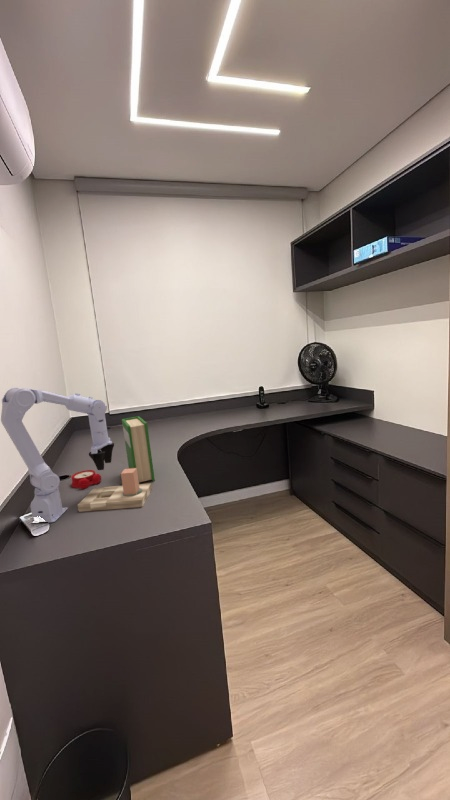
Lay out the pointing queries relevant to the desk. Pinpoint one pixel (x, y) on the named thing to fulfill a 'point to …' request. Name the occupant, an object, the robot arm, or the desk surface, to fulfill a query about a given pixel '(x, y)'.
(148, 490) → the pocket board
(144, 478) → the hardback book
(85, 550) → the desk surface
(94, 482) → the alarm clock
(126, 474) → the peg
